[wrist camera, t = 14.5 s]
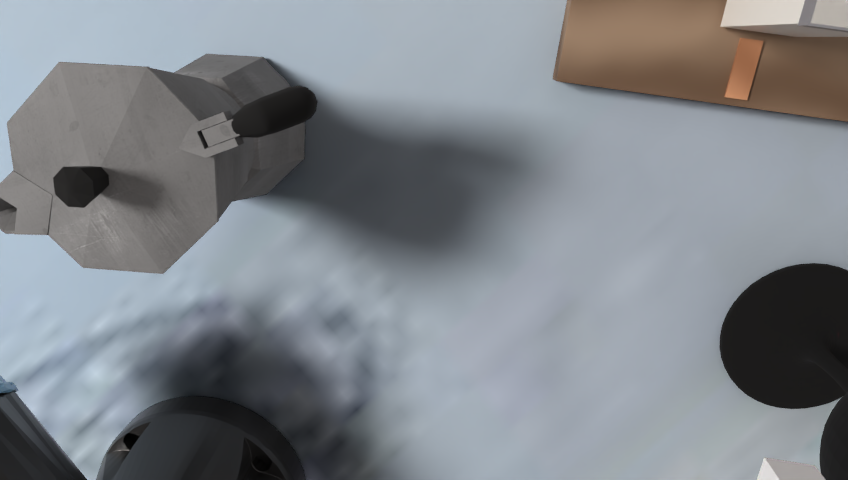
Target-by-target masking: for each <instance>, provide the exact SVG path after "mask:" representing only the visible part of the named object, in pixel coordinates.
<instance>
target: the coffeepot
mask: <svg viewBox="0 0 848 480" xmlns="http://www.w3.org/2000/svg"><path fill="white" fill-rule="evenodd" d="M316 107H317V100H316V97H315V95H314V93H313V92H311V91H310V90H309V89H308V88H306V87H302V86H293V87H291V86H290V85H289V83H288V82H287V81H286V80H285V79H284V78H283V77H282V76H281V75H280V74H279V73H278V72H277V71H276V70H275V69H274V68H273V67H272V66H271V65H270V64H269V63H268V62H267V61H266V60H265V58H264V57H252V56H234V55H216V54H205V55H204V56H202V57H200V58H198V59H197V60H195V61H193V62H192V63H190V64H188V65H186V66H185V67H183V68H181V69H179V70H178V71H176V72H174V73H172V72H167V71H162V70H157V69H152V68H149V67H141V66H123V65H106V64H88V63H70V62H59V63H58V64H57V65H56V66H55V67H54V68H53V70H52V71H51V72H50V73H49V74H48V75H47V77H46V78H45V79H44V80H43V81H42V82H41V84H40V85H39V86H38V87H37V88H36V89H35V91H34V92H33V93H32V94H31V95H30V96H29V98H28V99H27V100H26V101H25V102H24V103H23V105H22V106H21V107H20V108H19V109H18V110H17V112H16V113H15V114H14V115H13V116H12V117H11V119H10V120H9V121H8V122H7V127H8V134H9V141H10V148H11V155H12V162H13V169H14V171H12V172H11V173H10V174H9V175H8V176H7V177H6V178H5V179H4V180H3V181H2V182H1V183H0V229H1V230H2V231H3V232H4V233H6V234H13V233H14V234H28V235H49V236H50V237H51V238H52V239H53V240H54V241H55V242H56V243H57V244H58V245H59V246H60V247H61V248H63V249H64V250H65V251H66V252H67V253H68V254H69V255H70V256H71V257H72V258H73V259H74V260H75V261H76V262H77V263H78V264H80V265H81V266H82V267H83V268H94V269H107V270H120V271H133V272H146V273H159V274H163V273H164V272H166V271H167V270H168V269H169V268H170V267H171V266H172V265H173V264H174V263H175V262H176V261H177V260H178V259H179V258H180V257H181V256H182V255H183V254H184V253H185V252H186V251H187V250H188V249H189V248H191V247H192V246H193V245H194V244H195V243H196V242H197V241H198V240H199V239H200V238H201V237H202V236H203V235H204V234H205V233H206V232H207V231H208V230H209V229H210V228H211V227H212V226H213V225H215V224H216V223H217V222H218V221H219V218H220V217H221V215H222V214H223V213H224V211H225V210H226V209H227V207H228V206H229V205H230V203H231V202H232V201H237V200H242V199H247V198H251V197H256V196H261V195H266V194H268V193H269V192H270V191H271V190H272V189H273V188H274V187H275V186H276V185H277V184H278V183H279V182H280V181H281V180H282V179H283V178H284V177H286V176H287V175H288V174H289V173H290V172H291V171H292V170H293V169H294V168H295V167H296V166H297V165H298V164H299V163H300V162H301V161H302V160H303V159H304V158H305V152H304V144H305V121H307V120H308V119H310V118H311V117H312V116H313V114H314V113H315V111H316Z"/></svg>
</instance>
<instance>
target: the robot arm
mask: <svg viewBox="0 0 848 480" xmlns="http://www.w3.org/2000/svg"><path fill="white" fill-rule="evenodd" d="M16 391H18V389H17V387H16V386H15V385H14V383H11V382H6V381H5V380H4V379H3V378H2V377H1V376H0V480H87V479H86V478H85V477H84V475H83V474H82V473H81V472H80V470H79V469H78V468H77V467H76V466H75V464H74V463H73V462H72V461H71V460H70V458H69V457H68V456H67V455H66V453H65V452H64V451H63V450H62V449H61V447H60V446H59V445H58V444H57V443H56V441H55V440H54V439H53V438H52V437H51V435H50V434H49V433H48V432H47V430H46V429H45V428H44V427H43V426H42V424H41V423H40V422H39V421H38V420H37V418H36V417H35V416H34V415H33V413H32V412H31V411H30V410H29V409H28V407H27V406H26V405H25V404H24V403H23V401H22V400H21V399H20V398H19V396H18V395H17V394H16V393H15V392H16ZM96 480H305V475H304V472H303V469H302V466H301V463H300V461H299V459H298V457H297V455H296V453H295V452H294V450H293V448H292V447H291V445H290V444H289V443H288V441H287V440H286V439H285V438H284V437H283V436H282V434H281V433H280V432H279V431H278V430H277V429H276V428H275V427H273V426H272V425H271V424H270V423H269V422H267V421H266V420H265V419H263V418H262V417H260V416H259V415H257V414H255V413H254V412H252V411H250V410H248V409H246V408H244V407H242V406H239V405H237V404H234V403H231V402H228V401H225V400H221V399H216V398H210V397H199V396H189V397H179V398H173V399H169V400H166V401H162V402H160V403H157V404H155V405H153V406H151V407H149V408H147V409H145V410H144V411H142V412H141V413H140V414H138V415H137V416H136V417H135V418H134V419H133V420H132V421H131V422H130V423H129V424H128V425H127V426H126V427H125V428H124V430H123V431H122V432H121V433H120V434H119V435H118V436H117V437H116V439H115V440H114V441H113V442H112V444H111V446H110V447H109V449H108V450H107V452H106V454H105V456H104V458H103V461H102V463H101V466H100V469H99V472H98V475H97V478H96ZM757 480H826V479H825V478H824V477H823V476H822V474H821V473H820V472H819V471H818V469H817V468H816V467H815V465H808V464H802V463H796V462H789V461H783V460H777V459H771V458H764V460H763V463H762V466H761V469H760V472H759V475H758V478H757Z"/></svg>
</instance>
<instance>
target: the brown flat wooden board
mask: <svg viewBox="0 0 848 480" xmlns="http://www.w3.org/2000/svg"><path fill="white" fill-rule="evenodd" d="M726 2H727V0H567V5H566V10H565V15H564V21H563V26H562V31H561V37H560V42H559V47H558V53H557V58H556V64H555V69H554V74H553V79H554V80H556V81H560V82H567V83H574V84H581V85H589V86H596V87H603V88H610V89H617V90H624V91H632V92H639V93H646V94H653V95H660V96H667V97H675V98H682V99H689V100H696V101H703V102H711V103H718V104H725V105H732V106H739V107H746V108H754V109H761V110H768V111H775V112H782V113H789V114H797V115H804V116H811V117H818V118H825V119H832V120H840V121H847V122H848V37H792V36H785V35H778V34H770V33H763V32H755V31H748V30H741V29H733V28H726V27H720V26H721V22H722V18H723V14H724V10H725V6H726Z"/></svg>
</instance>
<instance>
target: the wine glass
mask: <svg viewBox="0 0 848 480" xmlns="http://www.w3.org/2000/svg"><path fill="white" fill-rule="evenodd" d="M720 352H721V358H722V361H723V364H724V367H725V369H726V371H727V373H728V375H729V376H730V378H731V379H732V380H733V382H734V383H735V384H736V385H737V386H738V388H740V389H741V390H742V391H743V392H744V393H745V394H747V395H748V396H750V397H752V398H753V399H755V400H757V401H759V402H762V403H764V404H767V405H770V406H775V407H779V408H789V409H799V408H809V407H815V406H819V405H823V404H826V403H829V402H832V401H834V400H836V399H838V398H841V397H842V396H843V397H842V398H841V399H840V400H839V401H838V403H837V404H836V406H835V407H834V409H833V410H832V412H831V414H830V416H829V418H828V420H827V422H826V424H825V427H824V431H823V435H822V439H821V447H820V468H821V474H822V476H823V477H824V478H825V479H826V480H848V271H847V270H845V269H842V268H840V267H836V266H832V265H827V264H815V263H812V264H799V265H794V266H789V267H785V268H783V269H780V270H777V271H774V272H772V273H770V274H768V275H766V276H764V277H762V278H761V279H759V280H758V281H756V282H755V283H753V284H752V285H750V286H749V287H748V288H747V289H746V290H745V291H744V292H743V293H742V294H741V295H740V296H739V297H738V298H737V300H736V301H735V302H734V303H733V305H732V307H731V308H730V310H729V312H728V313H727V315H726V318H725V320H724V322H723V325H722V330H721V335H720Z"/></svg>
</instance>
